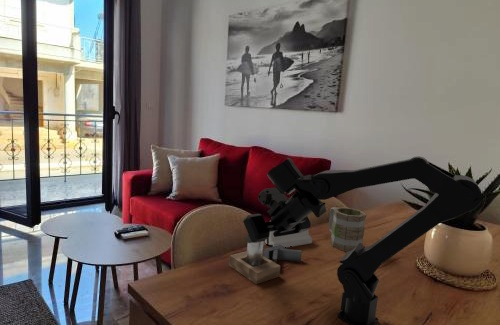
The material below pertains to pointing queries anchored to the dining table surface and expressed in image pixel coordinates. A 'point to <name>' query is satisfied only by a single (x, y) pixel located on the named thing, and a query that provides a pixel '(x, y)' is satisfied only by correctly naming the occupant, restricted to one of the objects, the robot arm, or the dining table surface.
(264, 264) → the rectangular block with hole
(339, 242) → the mug
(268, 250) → the v block
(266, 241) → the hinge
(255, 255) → the axle
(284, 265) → the dining table surface
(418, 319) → the dining table surface
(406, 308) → the dining table surface
